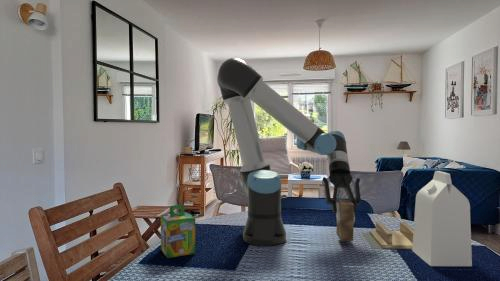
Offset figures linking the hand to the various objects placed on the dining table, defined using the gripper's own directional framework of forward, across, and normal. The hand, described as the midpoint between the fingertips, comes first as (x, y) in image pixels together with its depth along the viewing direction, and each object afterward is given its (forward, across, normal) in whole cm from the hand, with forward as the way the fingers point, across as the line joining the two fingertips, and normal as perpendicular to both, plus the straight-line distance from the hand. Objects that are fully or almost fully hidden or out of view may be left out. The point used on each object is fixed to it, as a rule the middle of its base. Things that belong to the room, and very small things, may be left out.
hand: (346, 221), depth 118 cm
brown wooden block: (+3, 0, -5) cm, 6 cm away
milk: (+13, -26, +2) cm, 29 cm away
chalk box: (+13, +54, 0) cm, 56 cm away
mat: (+2, -18, -9) cm, 20 cm away
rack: (+2, -18, -8) cm, 20 cm away
